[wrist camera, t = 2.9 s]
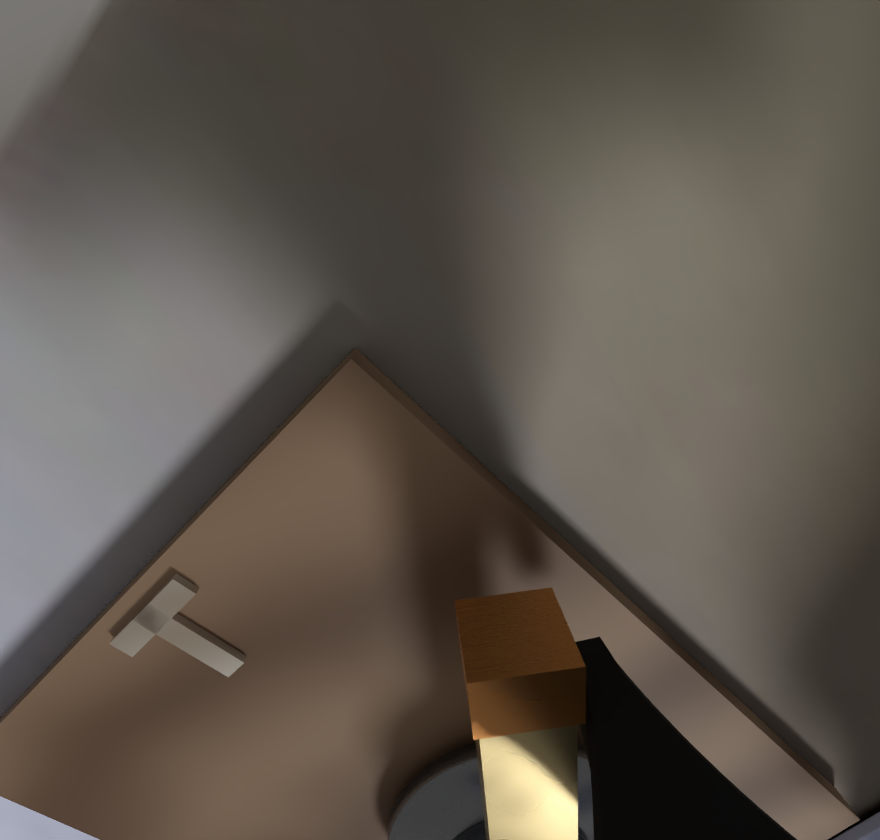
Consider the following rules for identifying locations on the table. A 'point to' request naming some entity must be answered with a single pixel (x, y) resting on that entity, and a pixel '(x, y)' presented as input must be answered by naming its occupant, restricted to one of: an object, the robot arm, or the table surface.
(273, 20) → the table surface
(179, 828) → the stand
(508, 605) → the lever door handle
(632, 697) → the robot arm
